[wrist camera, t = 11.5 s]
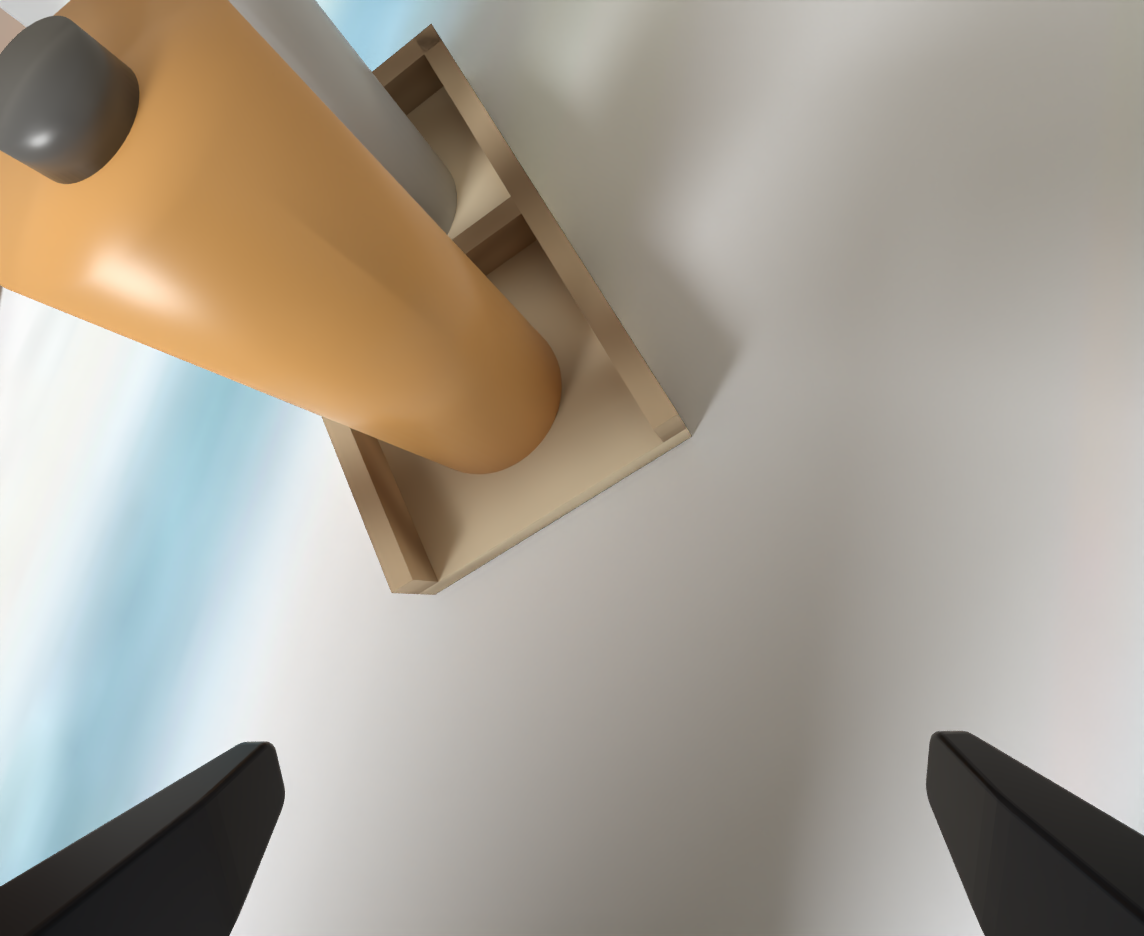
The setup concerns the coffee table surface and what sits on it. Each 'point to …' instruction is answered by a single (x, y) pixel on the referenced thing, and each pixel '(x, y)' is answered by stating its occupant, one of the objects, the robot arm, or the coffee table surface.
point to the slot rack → (559, 314)
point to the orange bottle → (251, 233)
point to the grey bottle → (332, 92)
